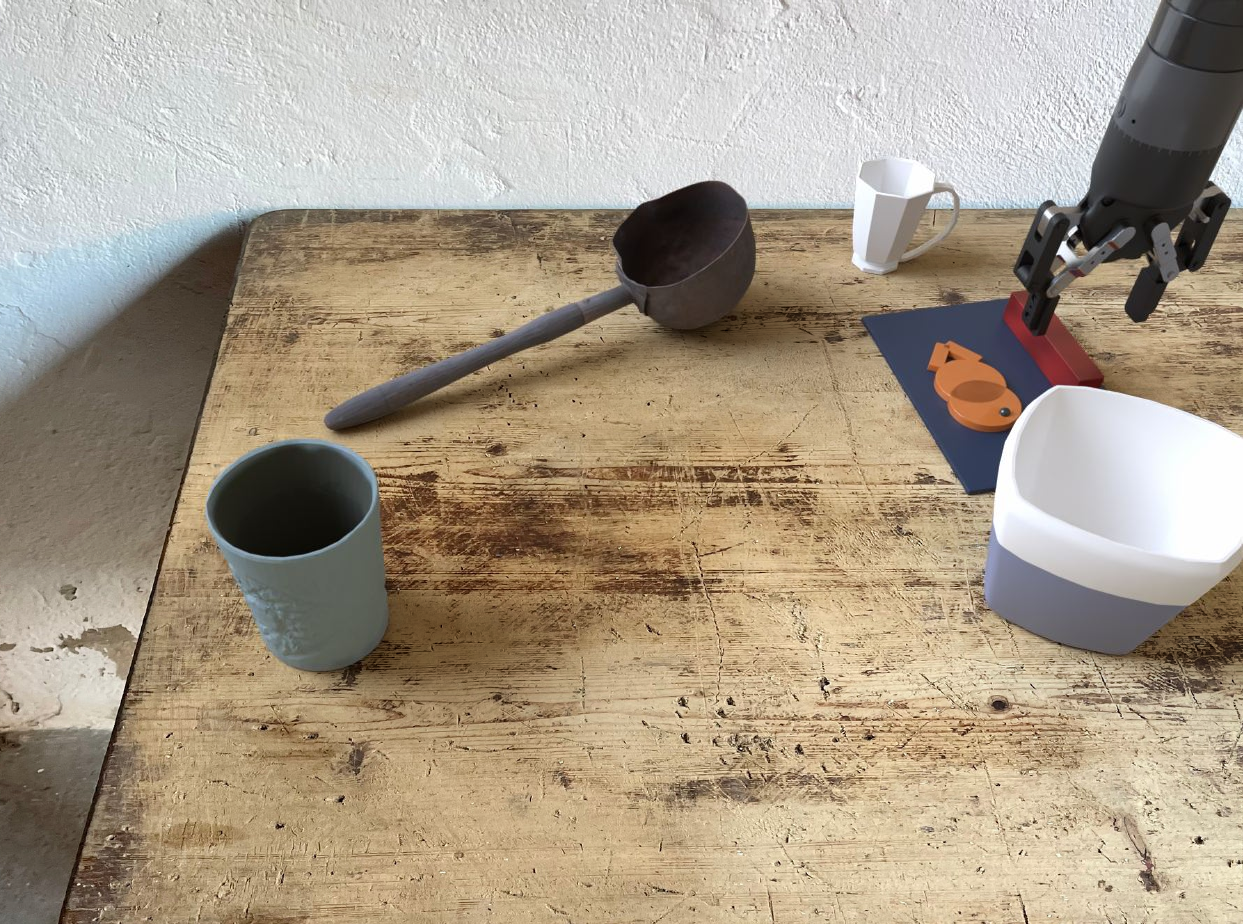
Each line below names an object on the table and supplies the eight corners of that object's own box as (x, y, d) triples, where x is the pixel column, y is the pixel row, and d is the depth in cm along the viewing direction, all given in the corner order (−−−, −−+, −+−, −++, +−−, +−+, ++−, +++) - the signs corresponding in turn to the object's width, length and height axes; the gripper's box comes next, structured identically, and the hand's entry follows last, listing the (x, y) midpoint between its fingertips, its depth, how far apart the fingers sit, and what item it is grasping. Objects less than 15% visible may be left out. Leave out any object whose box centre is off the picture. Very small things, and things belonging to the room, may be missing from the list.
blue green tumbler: (394, 561, 79) (372, 429, 69) (407, 674, 73) (384, 546, 63) (248, 579, 78) (205, 447, 68) (249, 694, 72) (202, 568, 62)
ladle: (790, 304, 94) (776, 198, 86) (402, 547, 90) (350, 460, 82) (712, 247, 101) (693, 145, 93) (350, 470, 97) (297, 384, 89)
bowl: (984, 484, 84) (1035, 362, 75) (1197, 551, 80) (1277, 431, 71) (931, 625, 76) (981, 506, 67) (1165, 707, 72) (1252, 593, 63)
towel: (1031, 298, 99) (1033, 294, 98) (1161, 466, 86) (1164, 462, 85) (860, 320, 96) (861, 316, 96) (967, 495, 84) (969, 491, 83)
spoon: (985, 319, 96) (995, 293, 94) (1041, 312, 97) (1051, 286, 95) (1081, 452, 86) (1094, 425, 84) (1142, 442, 87) (1157, 416, 85)
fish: (910, 351, 93) (913, 339, 92) (972, 343, 94) (976, 331, 93) (964, 437, 87) (969, 425, 86) (1031, 427, 88) (1036, 416, 87)
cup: (828, 241, 104) (846, 156, 97) (932, 235, 104) (957, 151, 98) (846, 285, 99) (867, 200, 93) (955, 279, 100) (983, 194, 94)
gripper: (1102, 158, 72) (1020, 365, 85) (1302, 134, 73) (1192, 341, 86) (1049, 101, 76) (979, 306, 89) (1239, 80, 78) (1143, 284, 91)
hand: (1084, 323), depth 88 cm, fingers open, 8 cm apart
